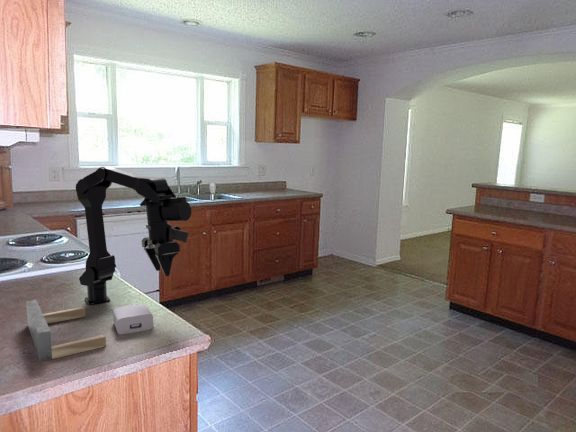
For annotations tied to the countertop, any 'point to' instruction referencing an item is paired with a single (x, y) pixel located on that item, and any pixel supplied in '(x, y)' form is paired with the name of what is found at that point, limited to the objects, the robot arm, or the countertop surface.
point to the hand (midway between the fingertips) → (162, 273)
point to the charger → (132, 318)
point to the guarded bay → (43, 336)
